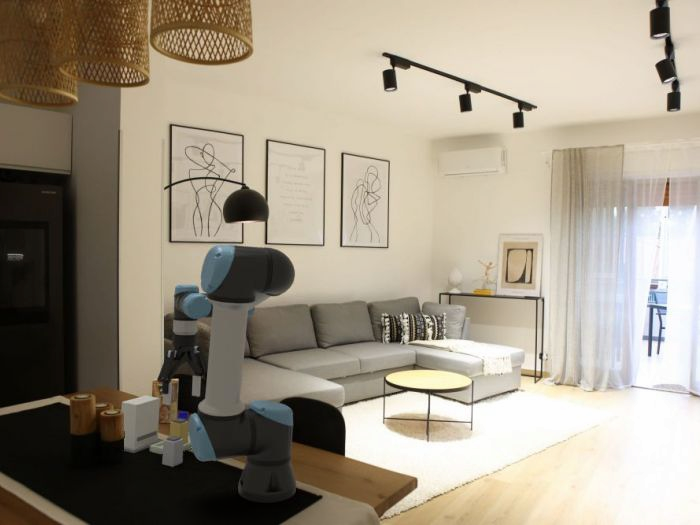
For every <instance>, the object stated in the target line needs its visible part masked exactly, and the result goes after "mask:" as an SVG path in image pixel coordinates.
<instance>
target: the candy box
mask: <svg viewBox="0 0 700 525" xmlns="http://www.w3.org/2000/svg"><path fill="white" fill-rule="evenodd" d="M157 379H158V378H153V380H152V382H151V383H152V386H151V387H152V388H151V389H152V390H151V397H156V398H160V405H159V424H170V422H172V421H173V420H176V419H178V403H179V402H178V400H179V399H178V398H179V380H180V379H179V378H172V380H171V382H170V383H172V394H171V405H166V404H162V403H163V394H162V383H160V382H158V381H157Z"/></svg>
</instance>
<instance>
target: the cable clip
mask: <svg viewBox="0 0 700 525" xmlns="http://www.w3.org/2000/svg"><path fill="white" fill-rule="evenodd" d="M179 418H180V419H185V420H186V421H189V411H179V412H178V416H177V419H179ZM172 422H173V421H172Z"/></svg>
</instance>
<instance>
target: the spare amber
mask: <svg viewBox="0 0 700 525" xmlns="http://www.w3.org/2000/svg"><path fill="white" fill-rule="evenodd" d="M169 425H170V426H169V427H170V428H169V429H170V430H169V437H170V436H173V435H174V436H178V437H181V438H182V439H184V442H183V445H184V444H186V443H188V432H189V420H188V421H186V420H185V419H180V418H179V419H178V418H177V419H176V420H173V422H170V423H169Z"/></svg>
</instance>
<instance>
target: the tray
mask: <svg viewBox="0 0 700 525" xmlns="http://www.w3.org/2000/svg"><path fill="white" fill-rule="evenodd" d="M191 447H192V445H191V441H190V434H189V431H188V443H186V444H184V445H183V451H184V452H186V451H188V450H190V449H189V448H191ZM187 449H188V450H187ZM191 449H192V448H191ZM185 450H186V451H185ZM149 452H151V453H155V454H158V455H162V454H163V440H162V441H161V442H158V443H156V444H153V445H150V447H149Z"/></svg>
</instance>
